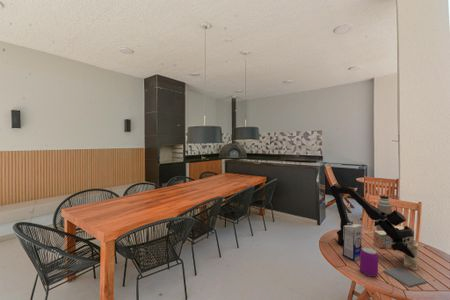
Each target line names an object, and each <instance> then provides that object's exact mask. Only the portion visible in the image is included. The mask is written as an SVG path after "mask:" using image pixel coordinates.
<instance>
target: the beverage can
mask: <svg viewBox="0 0 450 300" xmlns="http://www.w3.org/2000/svg"><path fill="white" fill-rule="evenodd" d="M359 270H360V272H362V273H363V274H364V275H365V276H368V277H376V276H378V274H379V272H378V271H379V255H378V253H377V250H376V249H374V248H371V247H367V246H365V247H364V246H363V247H361V252H360V259H359Z"/></svg>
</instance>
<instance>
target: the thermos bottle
mask: <svg viewBox="0 0 450 300" xmlns="http://www.w3.org/2000/svg"><path fill="white" fill-rule="evenodd" d="M389 197H390V196H389ZM389 197H388V196H386V195H380V197H379V198H380V199H378V203H377V206H376V208H378V209H379V210H380V211H381V212H384V213H388V214H390V213H391V212H392V204H391V201H389ZM385 219H387V218H385ZM385 219H384V220H385ZM379 220H381V219H379ZM379 220H376V221H379ZM376 231H384V230H383V229H382V228H381V227H380V226H379V225H377V226H376Z"/></svg>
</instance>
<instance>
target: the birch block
mask: <svg viewBox="0 0 450 300" xmlns="http://www.w3.org/2000/svg"><path fill="white" fill-rule="evenodd" d="M405 243H406V244H408V249H409V250H410V251H411V252H412V254H413V255H414V257H415V258H412V257H410V256H408V255H406V254H404V253H403V254H404V256H403V257H404V258H403V267H405V268H407V269H411V270H413V271H417V269H418V259H419V243H418V242H411V241H408V240H406V242H405Z"/></svg>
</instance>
